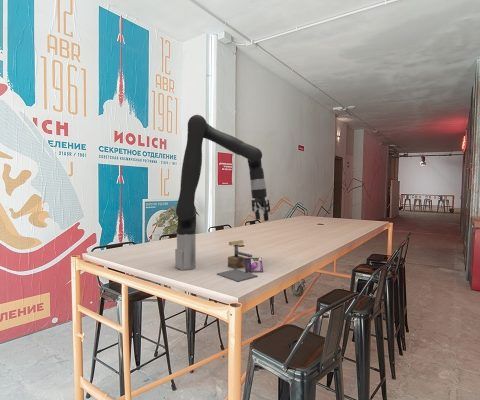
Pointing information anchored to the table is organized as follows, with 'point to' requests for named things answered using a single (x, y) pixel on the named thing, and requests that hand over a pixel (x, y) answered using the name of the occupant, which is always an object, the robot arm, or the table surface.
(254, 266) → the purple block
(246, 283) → the table surface
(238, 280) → the rubber mat
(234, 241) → the t key
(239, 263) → the block
